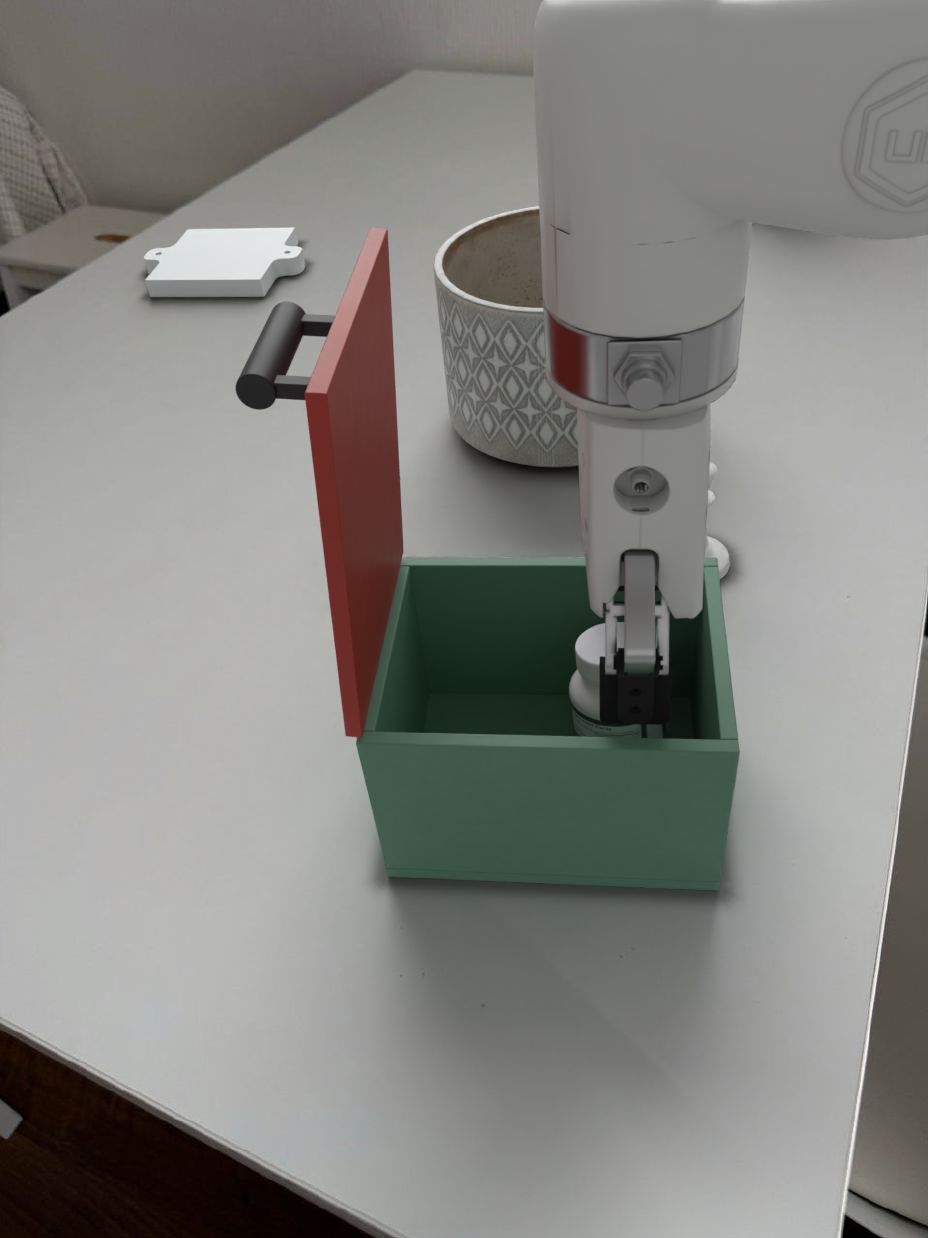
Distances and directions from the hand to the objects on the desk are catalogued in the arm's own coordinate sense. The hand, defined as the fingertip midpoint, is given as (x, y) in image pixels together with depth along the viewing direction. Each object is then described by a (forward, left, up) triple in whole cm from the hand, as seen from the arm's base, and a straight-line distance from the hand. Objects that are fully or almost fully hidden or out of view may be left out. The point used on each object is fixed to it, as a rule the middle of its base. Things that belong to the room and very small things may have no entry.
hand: (632, 648), depth 52 cm
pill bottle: (0, 0, -10) cm, 10 cm away
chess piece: (-5, -20, -11) cm, 23 cm away
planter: (+5, -39, -11) cm, 40 cm away
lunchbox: (+4, 0, -11) cm, 12 cm away
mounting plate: (+43, -70, -11) cm, 83 cm away
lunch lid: (+12, 0, +10) cm, 15 cm away
